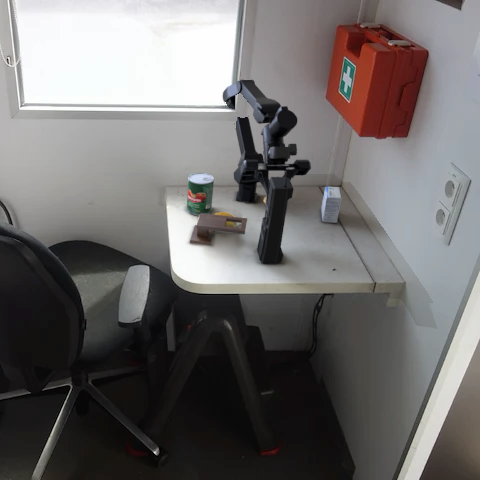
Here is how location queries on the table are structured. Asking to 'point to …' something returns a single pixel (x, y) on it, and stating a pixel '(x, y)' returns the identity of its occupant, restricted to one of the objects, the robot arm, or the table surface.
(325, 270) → the table surface
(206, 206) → the canned tomato
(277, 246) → the portable radio
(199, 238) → the stand
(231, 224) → the bread roll
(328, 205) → the medicine box
